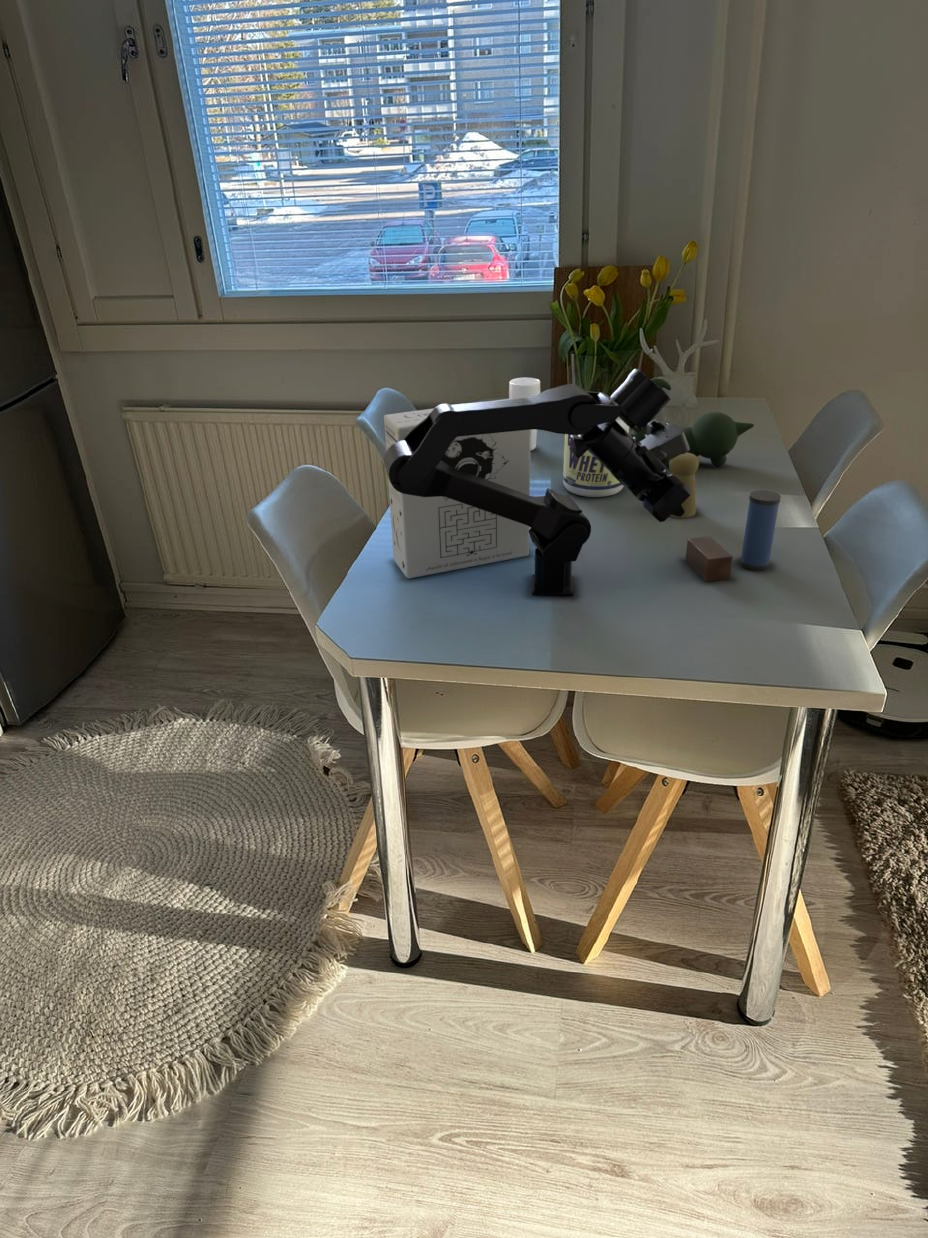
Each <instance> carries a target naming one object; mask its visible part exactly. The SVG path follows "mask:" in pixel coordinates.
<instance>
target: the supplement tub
mask: <svg viewBox="0 0 928 1238" xmlns="http://www.w3.org/2000/svg"><path fill="white" fill-rule="evenodd" d="M616 421H617V422H618V423H619V424H620V425H621V426H622V427H623V428H624V429H625V430H626V431H627V432H628V433H629V434H630V428H629V427H628V426H627V425H626V424H625V423H624V422H623V421H622V420H621V419H620V418H619V417H618V418H617V419H616ZM570 436H571V434H564V449H563V474H562V478H563V479H562V483H563V486H564V488H565V489H566V490H567V491H568V492H570V493H571V494H574V495H577V496H581V497H587V498H603V497H604V498H605V497H609V496H613V495H616V494H618V493H619V492H621V491H622V489H623V488H624V487H625V485H624V486H623V485H622V484H621V483H620V482H619V481H618V480H617V479H616V478H615V477H614V476H613V475H612V474H611V472H610V471H609V470H608V469H607V468H606V467H605V466H604V465H603V464H602V463H601V462H600V461H599V460H597V459H596V458H595V457H594V456H593V455H592V454H591V453H590V452H589V451H588V450H587V451H586V452H585V453H584V454H583V455H582V456H581V457H580V458H576V457H575V455H574V454H573V453H572V452H571V451H570V450H569V448H570V443H571V439H570Z"/></svg>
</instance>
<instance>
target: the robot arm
mask: <svg viewBox="0 0 928 1238" xmlns="http://www.w3.org/2000/svg"><path fill="white" fill-rule="evenodd" d="M508 399H509V398H508ZM498 400H499V401H494V400H487V401H488V402H487V401H477V402H467V403H466V402H465V403H457V404H449V403H441V404H438V405H437V406H435V407H434V409H433V408H432V409H433V411H432V412H431V413H430V414H429V415H428V416H427V417H426V418H425V419H424V420H423V421H422V422H420V423H419V424H418V425H417V426H415V427H414V428H413V429H412V430H411V431H410V432H409V433H408V434H407V435H406V436H405V437H404V439H403V440H402V441H399V442H397V443H395V444H393V445H392V446H391V447H389V448H388V450H387V452H386V451H385V453H384V457H383V465H384V469H385V472H386V474H387V478H388V477H389V480H390V482H391V484H392V486H393V488H394V489H395V490H397V491H398V492H400V493H403V494H407V495H413V496H420V497H440V496H441V497H447V498H450V499H452V500H455V501H458V502H461V503H464V504H467V505H470V506H473V507H476V508H478V509H481V510H484V511H487V512H490V513H493V514H496V515H499V516H501V517H504V518H507V519H510V520H513V521H516V522H519V523H522V524H525V525H527V526H529V538H530V540H531V542H532V543H533V544H534V546H535V547H536V548H535V549H534V572H533V573H534V574H532V575H531V595H532V596H535V597H537V596H538V597H574V596H575V586H574V576H573V575H572V566H573V562H576V561H577V560H578V557H579V554H580V552H581V550H582V548H583V545H584V544H586V543H587V541H588V540H589V539H590V536H591V533H592V525H591V522H590V520H589V518H588V517H587V516H586V515H585V514H584V512H583V510H582V509H581V508H580V506H579V505H578V504H577V503H576V502H575V500H574V499H573V498H572V497H571V495H570V494H561V493H558V492H556V491H554V490H553V489H552V488H549V487H547V488H546V490H545V493H544V495H540V496H534V495H531V494H530V495H527V494H525V493H522V492H519V491H516V490H513V489H511V488H508V487H505V486H502V485H500V484H497V483H494V482H491V481H489V480H486V479H483V478H480V477H477V476H475V475H472V474H469V473H466V472H464V471H461V470H458V469H455V468H452V467H450V466H448V465H447V464H445V463H444V462H443V461H441V459H442V457H443V455H444V454H445V452H446V450H447V449H448V447H449V445H450V444H451V443H452V442H453V441H454V439H455V438H456V437H459V436H470V435H480V434H490V433H501V432H511V431H521V430H532V429H536V430H537V431H544V432H549V433H553V434H559V435H565V434H571V436H570V439H571V443H570V448H569V450H570V451H571V452H572V453H573V454H574V455H575V457H576V458H580V457H581V456H582V455H583V454H584V453H585V452H586V451H587V450H588V451H589V452H590V453H591V454H592V455H593V456H594V457H595V458H596V459H597V460H599V461H600V462H601V463H602V464H603V465H604V466H605V467H606V468H607V469H608V470H609V471H610V472H611V474H612V475H613V476H614V477H615V478H616V479H617V480H618V481H619V482H620V483H621V484H622V485H623V486H624V487H626V488H627V489H628V491H630V493H632V495H633V496H634V497H635V498H636V499H637V500H638V501H640V502H641V505H642V506H643V507H644V509H646V511H648V512H649V514H650V515H651V516H653V517H654V518H655V519H656V521H658V522H659V523H663V522H666V521H667V520H668V518H670V517H671V516H670V515H674V516H678V517H681V516H682V515H683V514H684V513H685V511H684V509H683V507H682V506H681V504H682V503H683V502H684V501H685V500H686V499H687V498H688V497H689V496H690V495H691V492H692V491H691V490H690V489H689V488H688V487H687V486H686V485H685V484H684V483H683V482H682V481H681V480H680V479H679V478H677V477H676V476H675V475H671V473H670V474H669V475H668V470H667V468H668V467H666V466H665V465H664V464H663V463H665V462H668V461H670V460H671V459H673V458H675V457H677V456H679V455H681V454H685V453H687V452H688V451H689V450H690V447H689V445H688V442H687V439H686V436H685V434H684V431H683V430H682V429H681V427H680V426H678V425H677V424H676V423H671V422H666V423H665V424H663V423H662V422H660V421H659V420H658V419H657V418H655V417H656V416H657V415H658V414H659V413H660V411H661V410H663V408H664V407H665V406H666V405H667V404H669V402H670V401H672V400H671V397H670V396H669V395H668V394H667V392H666V391H665V390H664V388H661V387H659V386H658V385H656V384H655V383H653V382H652V381H651V380H650V378H649V377H648V376H647V375H646V374H645V373H644V372H643V371H642V370H640V369H639V368H634V369H633V370H632V371H631V372H630V373H629V374H628V375H627V378H626V379H625V381H623V383H621V384H620V386H619V387H617V389H615V391H614V392H612V394H611V395H610V396H609V395H608V394H607V393H606V392H603V391H590V390H588V391H587V390H585V389H583V387H581V386H579V385H578V384H573V383H568V384H567V383H566V384H563V385H559V386H556V387H553V388H549V389H546V390H543V391H541V392H540V394H538V395H536V396H532V397H529V398H520V399H509V400H502V399H498ZM618 417H619V418H620V419H621V420H622V421H623V422H624V423H625V424H626V425H627V426H628V427H629V429H630V428H631V429H632V430H633V428H634V426H635V427H637V428H638V429H639V430H640V429H641V428H642V429H643V428H644V427H645V426H646V425H647V432H646V435H645V439H643V440H642V441H640V442H639V441H638V440H637V439H636V438H635V437H632V436H631V434H630V432H629V433H628V432H627V431H626V430H625V429H624V428H623V427H622V426H621V425H620V424H619V423H618V422H617V421H616V419H617V418H618ZM654 418H655V419H654ZM650 421H651V422H650ZM631 429H630V430H631Z"/></svg>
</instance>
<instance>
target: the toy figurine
mask: <svg viewBox="0 0 928 1238" xmlns="http://www.w3.org/2000/svg"><path fill="white" fill-rule="evenodd" d="M649 379H650V378H649ZM650 380H651V381H652V382H653V383H655V384H656V385H658V386H659V387H661V388H662V389H665V390H667V391H672V386H671V384H669V382H668V381H666V380H665V379H663V378H657V377H655V378H651V379H650ZM651 421H652V420H651ZM651 421H650V422H651ZM754 427H755V424H754V423H751V422H750V423H749V422H739V421H735V420H734V419H733V418H732V417H731V416H730V415H728V414H726V413H724V412H721V411H710V412H706V413H704V414H702V415H701V416H699V417H698V418H697V419H696V420H695V421H694V422H693V424H692V426H685V427H682V428H681V427H680V428H681V429H682V430H683V431H684V434H685V436H686V439H687V442H688V445H689V447H690V450H689V451H688V452H687V453H691V454H694V455H695V456H697V458H698V457H699V456H700V457H703V458H706V459H710V462H711V465H713V466H715V467H722V466H723V465H724V464H726V462H727V455H728V454H729V453H730V452H731V451H732V450H733V449H734V448H735V446H736V444H737V442H738V438H739V437H740V436H741V435H743V434H744V433H746V432H748V431H749V430H751V429H752V428H754ZM629 430H632V431H633V432H632V433H631V434H630V435H631V436H632V437H635V438H636V439H637V440H638V441H639V442H640V441H642V440H643V439H645V435H646V432H647V425H646V426H645V427H644V428H643V429H642V428H641V429H640V430H639V429H638V428H637V427H635V426H634V428H633V429H631V428H629ZM663 464H664V465H665V466H666V467H667V468H669V461H668V462H665V463H663Z"/></svg>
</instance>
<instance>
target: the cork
mask: <svg viewBox="0 0 928 1238" xmlns="http://www.w3.org/2000/svg"><path fill="white" fill-rule="evenodd" d="M699 465H700V460H699V458H698V457H697V456H695V455H694V454H691V453H685V454H681V455H679V456H677V457H675V458H673V459H671V460H670V461H669V467H668V468H669V470H670V471H671V472H670V474H671V475H675V476H676V477H677V478H679V479H680V480H681V481H682V482H683V483H684V484H685V485H686V486H687V487H688V488H689V489H690V490H691V491H692V492H691V495H690V496H689V497H688V498H687V499H686V500H685V501H684V502H683V503H682V504H681V506H682V507H683V509H684V511H685V513H684V514H683V515H682V516H681V517H678V516H674V515H670V516H669V517H672V518H678V519H686V518H691V517H693V516H695V515H696V512H697V509H696V477H695V475H696V474H695V473H696V472H698V469H699Z"/></svg>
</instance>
